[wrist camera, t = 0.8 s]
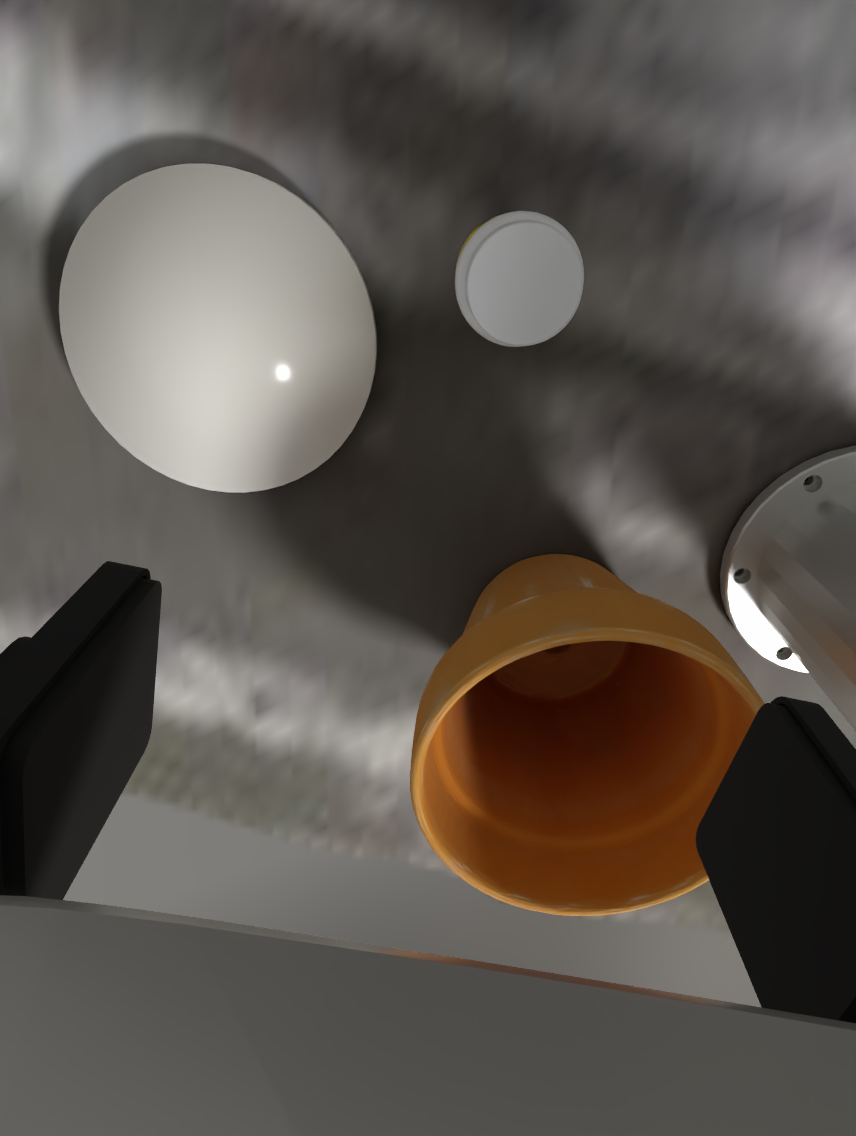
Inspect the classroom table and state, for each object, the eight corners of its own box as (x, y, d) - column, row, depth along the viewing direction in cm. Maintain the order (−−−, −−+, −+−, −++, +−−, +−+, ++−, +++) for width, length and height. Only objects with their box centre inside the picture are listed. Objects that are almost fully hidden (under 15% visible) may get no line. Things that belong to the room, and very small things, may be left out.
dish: (361, 153, 30) (357, 150, 29) (391, 474, 36) (388, 484, 35) (37, 179, 31) (17, 176, 29) (118, 489, 37) (105, 500, 35)
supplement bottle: (569, 216, 31) (608, 212, 23) (555, 330, 33) (587, 361, 25) (457, 210, 31) (460, 204, 23) (450, 325, 33) (451, 354, 25)
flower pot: (454, 475, 36) (455, 595, 24) (723, 533, 37) (850, 676, 25) (398, 702, 42) (379, 886, 30) (632, 747, 43) (700, 943, 31)
